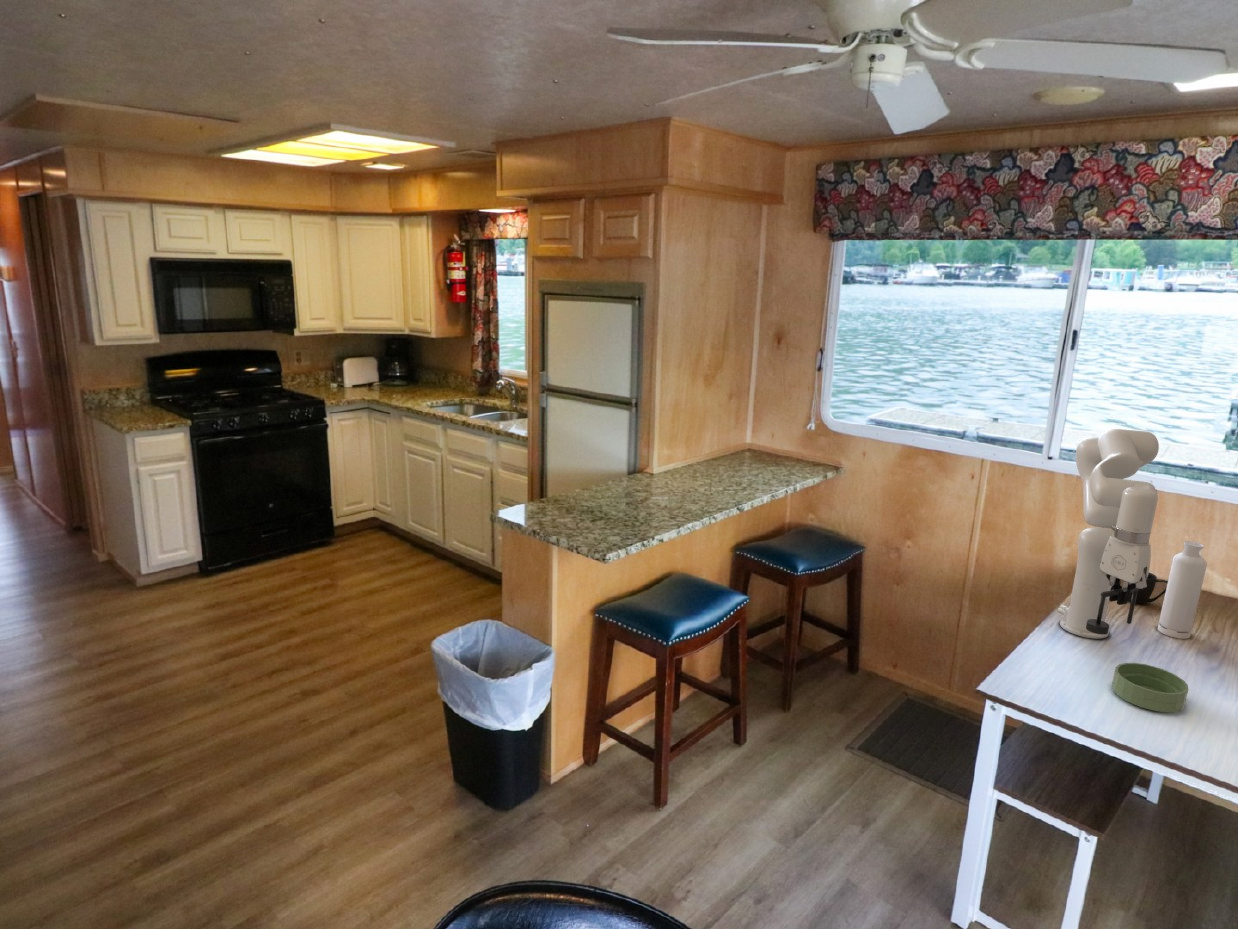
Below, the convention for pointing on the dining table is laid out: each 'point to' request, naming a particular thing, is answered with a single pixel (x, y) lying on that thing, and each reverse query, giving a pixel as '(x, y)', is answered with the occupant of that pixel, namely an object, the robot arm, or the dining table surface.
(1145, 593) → the mug
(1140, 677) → the bowl
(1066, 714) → the dining table surface
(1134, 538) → the robot arm
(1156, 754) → the dining table surface
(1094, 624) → the ladle
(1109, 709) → the dining table surface
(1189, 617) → the bottle
